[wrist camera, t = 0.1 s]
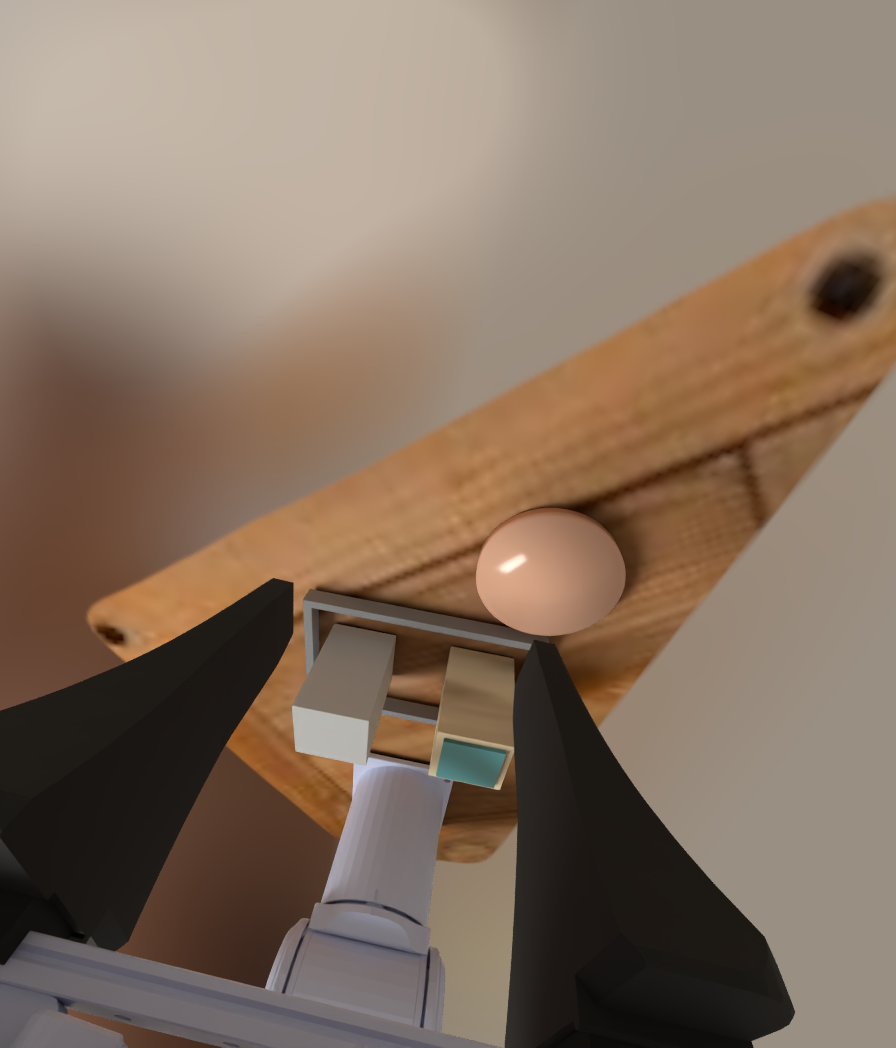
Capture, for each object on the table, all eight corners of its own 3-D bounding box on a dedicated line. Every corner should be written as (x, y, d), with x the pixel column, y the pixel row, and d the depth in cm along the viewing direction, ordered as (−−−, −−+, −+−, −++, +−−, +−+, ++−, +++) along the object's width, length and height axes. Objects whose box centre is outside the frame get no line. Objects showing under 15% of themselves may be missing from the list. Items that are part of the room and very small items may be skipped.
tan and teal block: (501, 700, 28) (499, 793, 23) (442, 688, 28) (427, 778, 23) (514, 658, 26) (515, 751, 21) (451, 646, 26) (436, 735, 21)
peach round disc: (594, 634, 24) (598, 646, 23) (467, 609, 24) (465, 621, 23) (643, 523, 20) (649, 533, 19) (491, 495, 20) (490, 504, 20)
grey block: (391, 678, 28) (365, 765, 23) (334, 666, 28) (295, 751, 23) (396, 635, 26) (368, 721, 21) (334, 623, 26) (291, 705, 21)
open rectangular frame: (515, 728, 29) (515, 741, 28) (313, 687, 29) (307, 699, 29) (548, 635, 24) (550, 647, 24) (310, 589, 25) (302, 599, 24)
